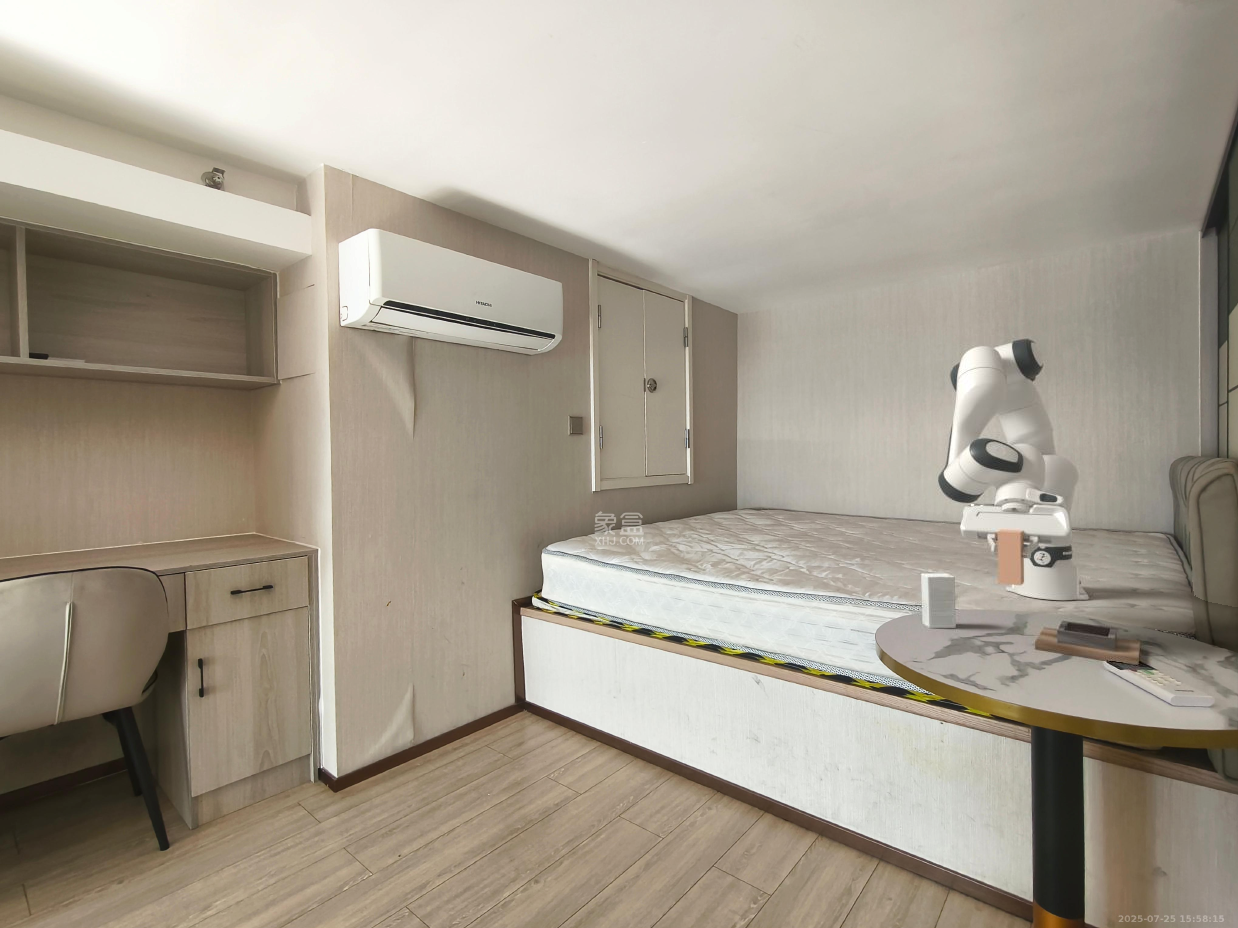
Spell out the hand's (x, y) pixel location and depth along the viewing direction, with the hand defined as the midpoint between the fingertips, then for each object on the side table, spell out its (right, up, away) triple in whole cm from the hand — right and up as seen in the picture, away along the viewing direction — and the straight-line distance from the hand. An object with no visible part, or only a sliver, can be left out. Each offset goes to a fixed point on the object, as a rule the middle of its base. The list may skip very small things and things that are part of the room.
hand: (1010, 555), depth 126 cm
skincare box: (-8, -19, +14) cm, 25 cm away
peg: (+1, -6, +1) cm, 6 cm away
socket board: (+13, -18, -4) cm, 23 cm away
